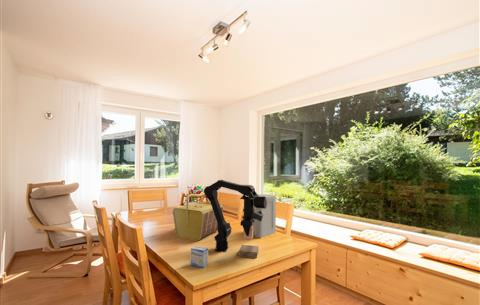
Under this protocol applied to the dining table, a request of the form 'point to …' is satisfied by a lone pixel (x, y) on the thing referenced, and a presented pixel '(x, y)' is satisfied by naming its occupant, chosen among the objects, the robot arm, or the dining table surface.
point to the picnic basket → (195, 219)
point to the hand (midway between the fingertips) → (248, 234)
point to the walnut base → (248, 251)
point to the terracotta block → (249, 233)
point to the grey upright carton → (266, 218)
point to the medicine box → (199, 256)
